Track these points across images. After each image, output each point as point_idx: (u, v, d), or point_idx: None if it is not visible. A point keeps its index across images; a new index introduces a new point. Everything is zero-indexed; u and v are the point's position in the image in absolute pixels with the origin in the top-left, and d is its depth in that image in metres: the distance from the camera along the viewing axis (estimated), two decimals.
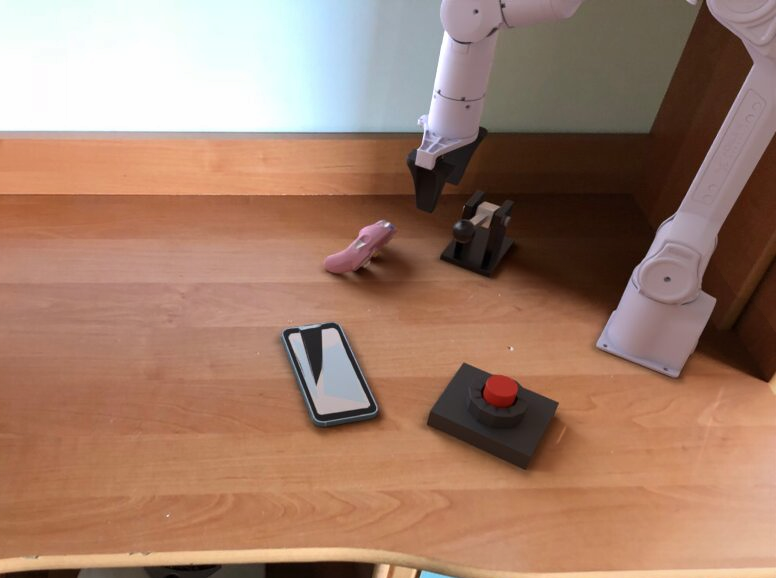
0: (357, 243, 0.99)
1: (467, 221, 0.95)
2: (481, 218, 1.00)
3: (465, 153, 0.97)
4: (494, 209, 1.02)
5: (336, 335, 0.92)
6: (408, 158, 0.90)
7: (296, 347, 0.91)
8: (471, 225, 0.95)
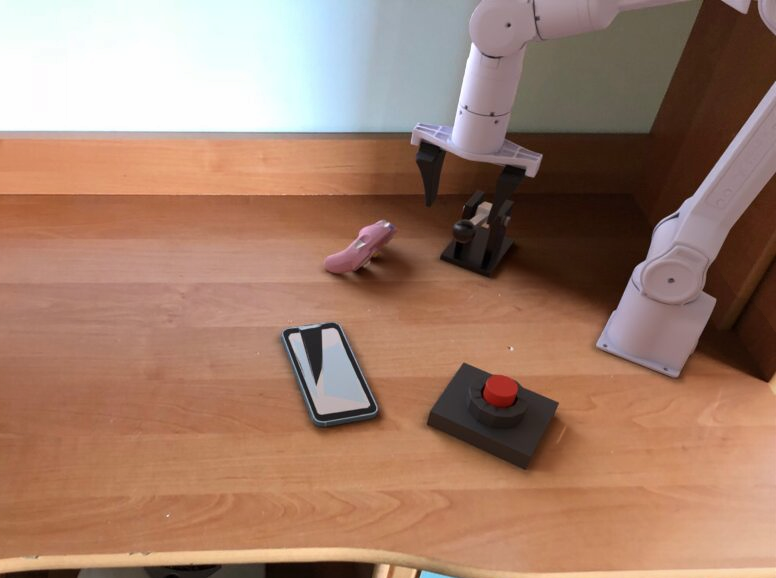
0: (357, 243, 0.99)
1: (467, 221, 0.95)
2: (481, 218, 1.00)
3: None
4: None
5: (336, 335, 0.92)
6: None
7: (296, 347, 0.91)
8: (471, 225, 0.95)
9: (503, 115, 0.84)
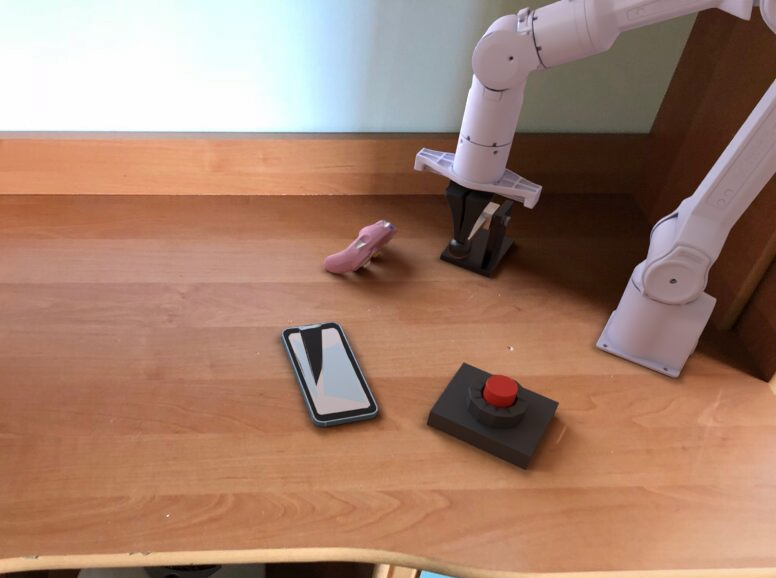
0: (357, 243, 0.99)
1: None
2: (479, 225, 1.00)
3: None
4: (493, 211, 1.01)
5: (336, 335, 0.92)
6: None
7: (296, 347, 0.91)
8: (465, 243, 0.96)
9: (502, 146, 0.85)
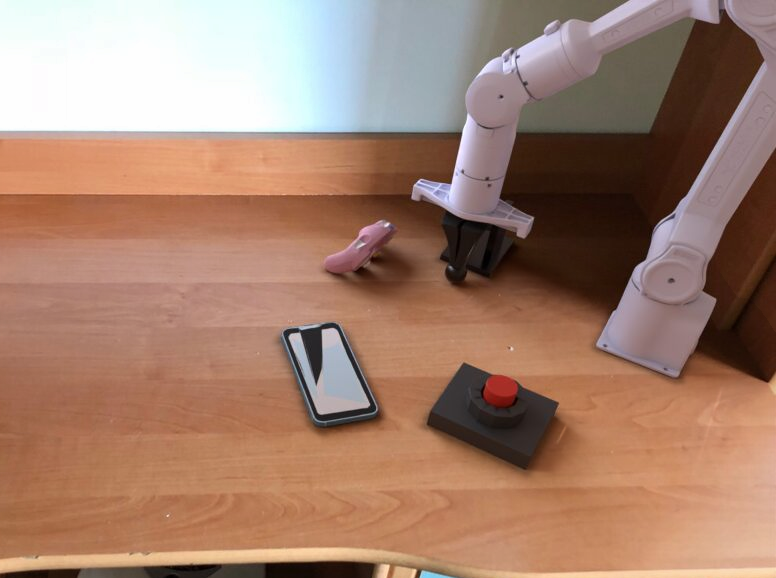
0: (357, 243, 0.99)
1: (455, 268, 1.00)
2: None
3: None
4: None
5: (336, 335, 0.92)
6: None
7: (296, 347, 0.91)
8: (459, 272, 1.00)
9: (496, 179, 0.89)
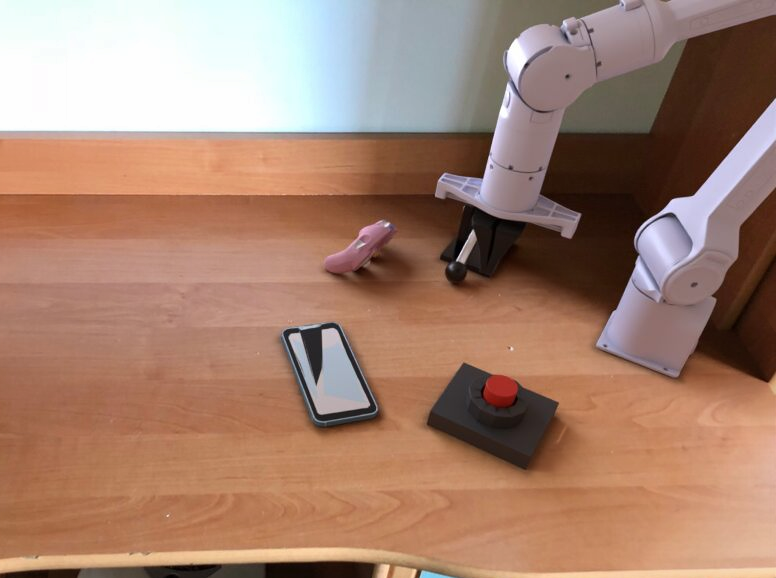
0: (357, 243, 0.99)
1: (455, 268, 1.00)
2: None
3: None
4: None
5: (336, 335, 0.92)
6: None
7: (296, 347, 0.91)
8: (459, 272, 1.00)
9: (539, 171, 0.76)
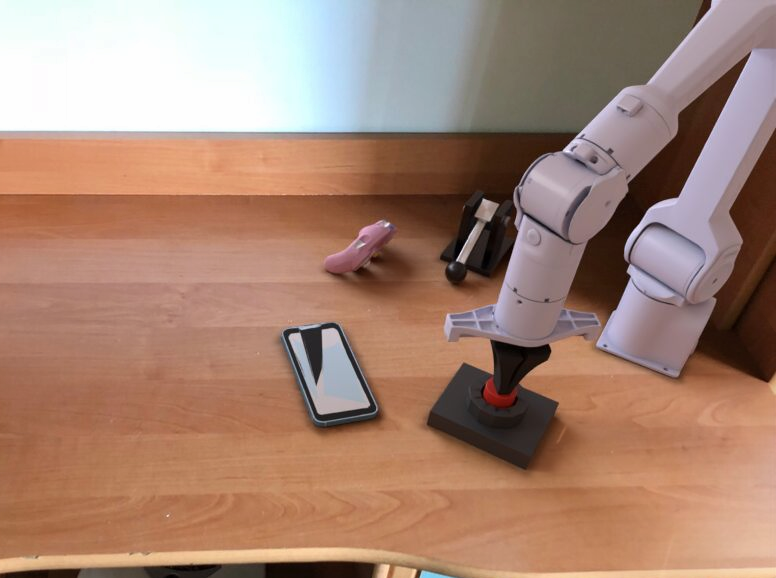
0: (357, 243, 0.99)
1: (455, 268, 1.00)
2: (476, 236, 1.02)
3: None
4: (491, 216, 1.01)
5: (336, 335, 0.92)
6: None
7: (296, 347, 0.91)
8: (459, 272, 1.00)
9: (567, 293, 0.71)
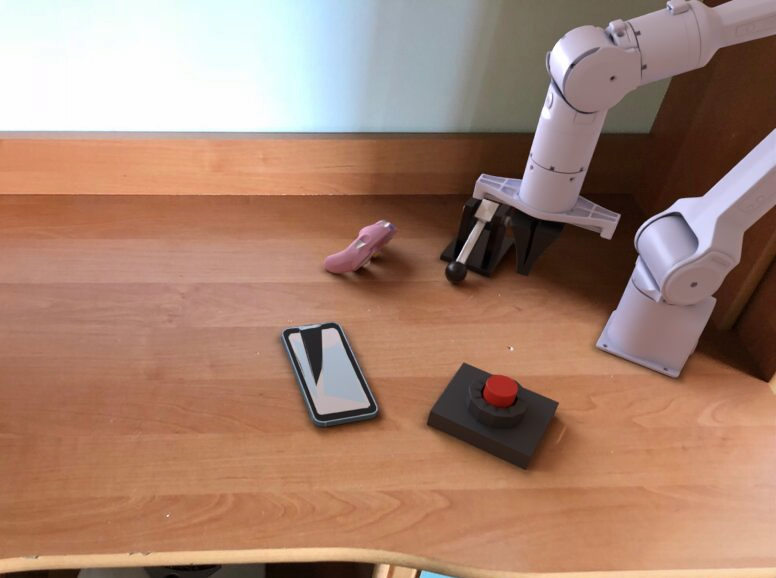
0: (357, 243, 0.99)
1: (455, 268, 1.00)
2: (476, 236, 1.02)
3: None
4: (491, 216, 1.01)
5: (336, 335, 0.92)
6: None
7: (296, 347, 0.91)
8: (459, 272, 1.00)
9: (580, 172, 0.76)
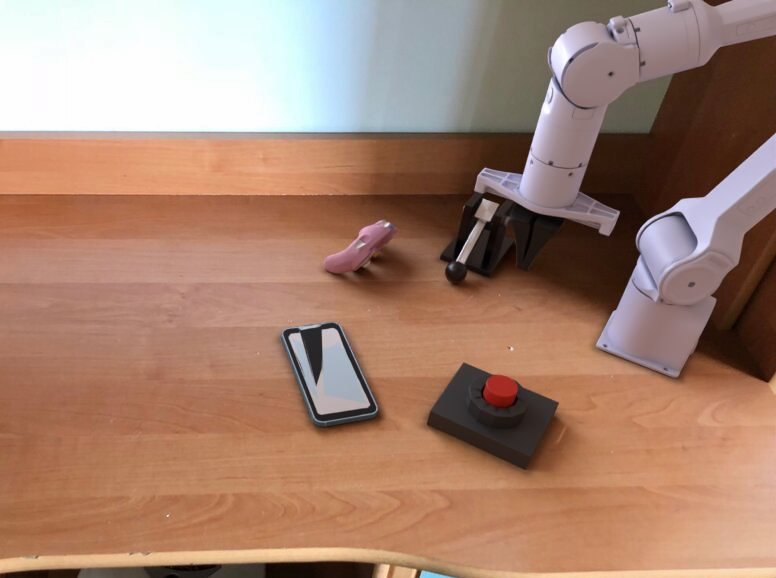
0: (357, 243, 0.99)
1: (455, 268, 1.00)
2: (476, 236, 1.02)
3: None
4: (491, 216, 1.01)
5: (336, 335, 0.92)
6: None
7: (296, 347, 0.91)
8: (459, 272, 1.00)
9: (579, 167, 0.77)
